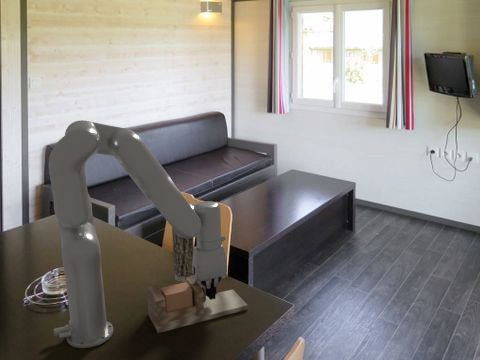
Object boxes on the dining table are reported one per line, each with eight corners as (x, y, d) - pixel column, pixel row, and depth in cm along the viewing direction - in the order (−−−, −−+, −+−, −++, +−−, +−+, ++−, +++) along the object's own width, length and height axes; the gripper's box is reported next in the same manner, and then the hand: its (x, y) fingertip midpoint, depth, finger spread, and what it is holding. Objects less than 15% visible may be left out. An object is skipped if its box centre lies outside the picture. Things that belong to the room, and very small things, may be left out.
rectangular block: (167, 319, 133) (165, 295, 131) (162, 311, 138) (160, 287, 136) (192, 313, 137) (191, 289, 135) (187, 305, 141) (186, 282, 139)
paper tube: (185, 281, 159) (182, 213, 153) (199, 287, 155) (196, 218, 149) (171, 288, 154) (167, 219, 148) (185, 295, 150) (181, 224, 144)
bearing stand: (157, 333, 130) (155, 303, 127) (148, 314, 139) (146, 286, 137) (247, 309, 141) (247, 281, 139) (232, 293, 151) (232, 267, 148)
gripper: (226, 233, 142) (228, 286, 147) (181, 243, 136) (184, 297, 141) (236, 242, 136) (238, 297, 141) (189, 252, 130) (192, 309, 135)
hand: (211, 297), depth 141 cm, fingers closed
